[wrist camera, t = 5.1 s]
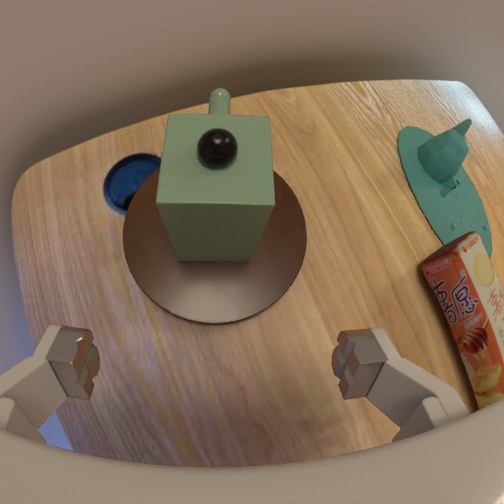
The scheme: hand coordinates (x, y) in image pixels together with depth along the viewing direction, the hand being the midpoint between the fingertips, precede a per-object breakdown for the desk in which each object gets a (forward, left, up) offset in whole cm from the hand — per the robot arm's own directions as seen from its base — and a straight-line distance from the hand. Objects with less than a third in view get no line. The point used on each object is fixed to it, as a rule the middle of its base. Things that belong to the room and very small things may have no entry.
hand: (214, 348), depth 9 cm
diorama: (+27, +15, -15) cm, 34 cm away
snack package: (+26, -2, -15) cm, 30 cm away
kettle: (0, +9, -14) cm, 17 cm away
